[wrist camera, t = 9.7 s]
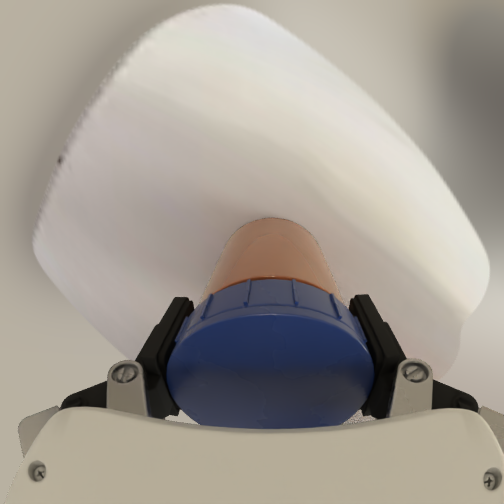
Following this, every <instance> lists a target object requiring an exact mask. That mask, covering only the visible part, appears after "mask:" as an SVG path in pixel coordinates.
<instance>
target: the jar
mask: <svg viewBox="0 0 504 504" xmlns="http://www.w3.org/2000/svg"><path fill="white" fill-rule="evenodd" d="M249 279H251V281H255V280H267V279H276V280H289V281H292V279H295V280H296V282H300V283H304V284H307V285H311V286H314V287H316V288H318V289H321V290H323V291H325V292H327V293H329V294H331V293H333V294H334V296H335V298H337V299H338V300H339V301H340V302H341V303H343V304H344V302H343V300H342V297H341V295H340V293H339V290H338V288H337V286H336V283H335V281H334V279H333V276H332V274H331V272H330V269H329V267H328V265H327V263H326V260H325V258H324V256H323V254H322V251H321V249H320V247H319V245H318V243H317V241H316V240H315V239H314V237H313V236H312V235H311V234H310V233H309V232H308V231H307V230H306V229H305V228H303V227H302V226H300V225H298V224H296V223H294V222H292V221H289V220H285V219H280V218H264V219H259V220H255V221H253V222H250V223H248V224H246V225H244V226H242V227H241V228H240V229H238V230H237V231H236V232H235V233H234V234H233V235H232V236H231V237H230V239H229V240H228V242H227V243H226V245H225V247H224V249H223V251H222V254H221V256H220V258H219V260H218V262H217V265H216V267H215V269H214V271H213V274H212V276H211V278H210V280H209V283H208V285H207V287H206V289H205V292H204V294H203V296H202V298H201V301H200V303H199V304H201V303H202V302H203V301H204V300H205V299H207V298H208V295H209V294H210V293H212V295H213V294H215V293H216V292H219V291H221V290H223V289H225V288H228V287H230V286H233V285H237V284H240V283H243V282H247V280H249Z"/></svg>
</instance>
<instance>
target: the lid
mask: <svg viewBox="0 0 504 504" xmlns="http://www.w3.org/2000/svg"><path fill="white" fill-rule="evenodd" d="M175 342H176V345H175V347H174V349H173V351H172V354H171V356H170V358H169V361H168V364H167V371H166V377H167V384H168V388H169V391H170V393H171V395H172V397H173V399H174V401H175V402H176V403H177V405H178V406H179V407H180V408H181V409H182V411H183V412H184V413H185V414H187V415H188V416H189V417H190V418H191V419H193V420H194V421H196V422H197V423H198V424H200V425H205V426H215V427H228V428H246V429H297V428H315V427H328V426H338V425H341V424H342V423H344V422H345V421H346V420H348V419H349V418H350V417H351V416H353V415H354V414H355V413H356V412H357V411H358V410H359V409H360V408H361V407H362V405H363V404H364V403H365V401H366V400H367V398H368V396H369V394H370V392H371V389H372V386H373V383H374V374H375V373H374V364H373V361H372V358H371V356H370V353H369V350H368V348H367V345H366V342H367V339H366V337H365V335H364V332H363V330H362V328H361V325H360V323H359V321H358V318H357V317H356V316H355V317H354V316H353V315H352V313H351V312H350V311H349V310H348V309H347V307H346V306H345V305H344V304H343V303H341V302H340V301H339V300H338V299H337V298H335V296H334V294H333V293H331V294H329V293H327V292H325V291H323V290H321V289H318V288H316V287H314V286H311V285H307V284H304V283H300V282H296V280H295V279H292V281H289V280H276V279H267V280H255V281H251V279H249V280H247V282H243V283H240V284H237V285H233V286H230V287H228V288H225V289H223V290H221V291H219V292H216V293H215V294H213V295H212V293H210V294H209V295H208V298H207V299H205V300H204V301H203V302H202V303H201V304H199V305H198V306H197V307H196V308H195V310H194V311H193V312H192V313H191V314H190V316H189V317H187V316H186V318H185V320H184V322H183V324H182V326H181V328H180V330H179V332H178V335H177V337H176V339H175Z"/></svg>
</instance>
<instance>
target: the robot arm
mask: <svg viewBox="0 0 504 504" xmlns="http://www.w3.org/2000/svg"><path fill="white" fill-rule="evenodd" d="M193 311H194V305H193V301H189V299H188V297H175V298H174V299H173V301H172V303H171V304H170V306H169V308H168V309H167V311H166V313H165V314H164V316H163V318H162V319H161V321H160V323H159V324H157V325H156V326H155V327H154V329H153V331H152V332H151V334H150V336H149V337H148V339H147V341H146V343H145V344H144V346H143V348H142V349H141V351H140V353H139V355H138V356H137V358H136V360H135V361H133V360H124V361H120V362H118V363H116V364H114V365H113V366H112V367H111V368H110V370H109V372H108V377H107V378H108V379H107V381H105V382H103V383H100V384H97V385H95V386H93V387H90V388H87V389H85V390H82V391H79V392H77V393H74V394H72V395H70V396H68V397H67V398H66V399H64V401H63V402H62V405H61V407H60V408H59V407H58V406H55V407H52V408H49V409H47V410H44V411H42V412H39V413H36V414H34V415H31V416H28V417H26V418H24V419H23V420H22V421H21V422H20V424H19V426H18V433H19V438H20V443H21V448H22V453H23V457H24V460H23V462H22V464H21V466H20V468H19V470H18V472H17V474H16V476H15V478H14V480H13V482H12V485H11V487H10V489H9V492H8V494H7V497H6V500H5V502H4V504H504V415H502V414H500V413H498V412H496V411H493V410H491V409H489V408H486V407H484V406H482V407H481V408H478V404H477V402H476V400H475V399H474V398H473V397H472V396H471V395H469V394H467V393H465V392H462V391H460V390H457V389H454V388H452V387H450V386H447V385H445V384H443V383H440V382H438V381H436V380H433V373H432V369H431V367H430V366H429V365H428V364H427V363H426V362H424V361H422V360H419V359H406V357H405V355H404V353H403V351H402V349H401V347H400V345H399V343H398V341H397V339H396V337H395V336H394V334H393V332H392V330H391V328H390V326H389V325H388V323H387V322H383V320H382V318H381V316H380V314H379V313H378V311H377V309H376V307H375V305H374V304H373V302H372V300H371V298H370V297H369V295H368V294H364V295H355V297H354V298H351V300H350V305H349V311H350V312H351V313H352V315H353V316H354V317H355V316H356V317H357V318H358V321H359V323H360V325H361V328H362V330H363V332H364V335H365V337H366V339H367V342H366V345H367V348H368V350H369V353H370V356H371V358H372V361H373V364H374V373H375V374H374V383H373V386H372V389H371V392H370V394H369V396H368V398H367V400H366V401H365V403H364V404H363V405H362V407H361V408H360V409H359V410H362V414H363V416H368V415H371V416H372V417H374V418H375V420H374V421H368V422H361V423H354V424H347V425H338V426H328V427H315V428H297V429H246V428H228V427H215V426H205V425H196V424H188V423H181V422H175V421H169V420H165V417H167V416H169V415H174V416H178V414H179V410H182V409H181V408H180V407H179V406H178V405H177V403H176V402H175V401H174V399H173V397H172V395H171V393H170V391H169V388H168V384H167V377H166V371H167V364H168V361H169V358H170V356H171V354H172V351H173V349H174V347H175V345H176V342H175V339H176V337H177V335H178V332H179V330H180V328H181V326H182V324H183V322H184V320H185V318H186V316H187V317H189V316H190V314H191V313H192V312H193Z"/></svg>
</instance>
